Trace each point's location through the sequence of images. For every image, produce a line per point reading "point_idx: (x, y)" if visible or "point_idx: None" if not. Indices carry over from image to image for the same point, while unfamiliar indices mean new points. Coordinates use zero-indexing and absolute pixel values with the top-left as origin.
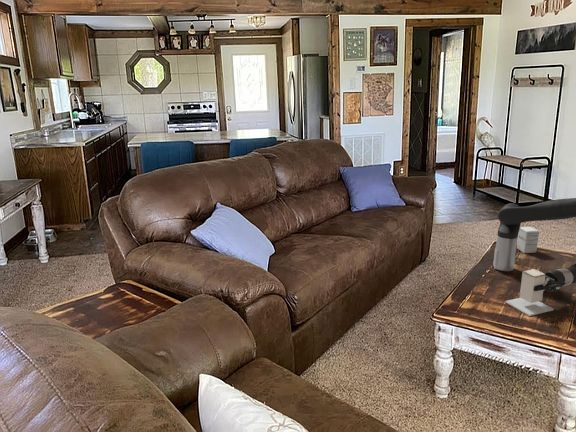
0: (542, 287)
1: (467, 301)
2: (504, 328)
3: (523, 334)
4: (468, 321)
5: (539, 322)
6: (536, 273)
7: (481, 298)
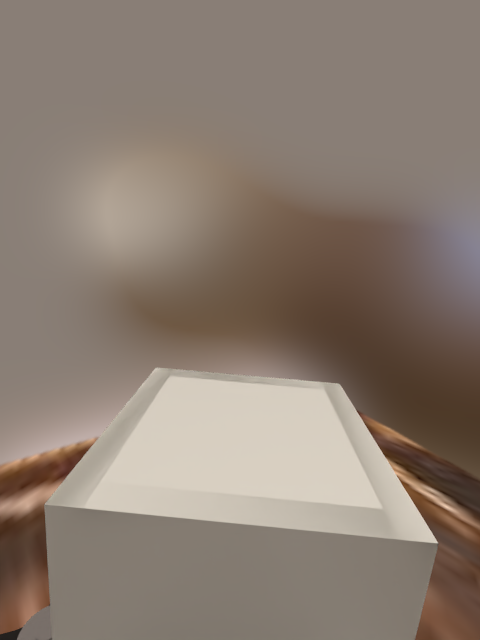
0: None
1: None
2: None
3: (67, 452)
4: None
5: (18, 599)
6: (199, 422)
7: None
